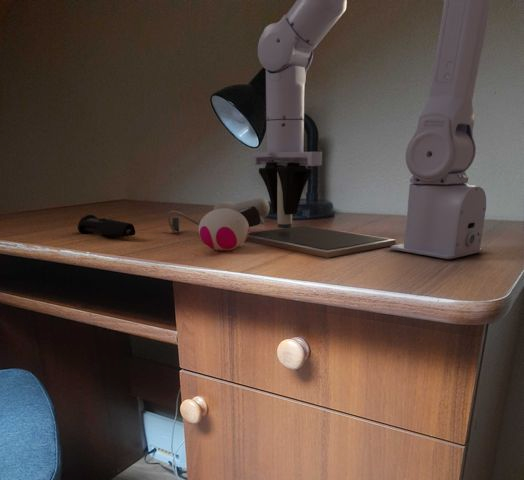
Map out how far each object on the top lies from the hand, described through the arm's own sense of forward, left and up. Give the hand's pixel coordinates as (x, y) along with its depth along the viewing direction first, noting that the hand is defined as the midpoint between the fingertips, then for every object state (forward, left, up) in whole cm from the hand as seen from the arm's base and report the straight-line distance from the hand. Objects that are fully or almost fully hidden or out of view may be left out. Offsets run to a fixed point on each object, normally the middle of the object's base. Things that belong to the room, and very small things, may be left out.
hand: (284, 213), depth 80 cm
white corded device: (+10, +7, -4) cm, 13 cm away
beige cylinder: (0, 0, -2) cm, 2 cm away
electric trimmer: (+21, +22, -4) cm, 31 cm away
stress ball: (-4, +15, -4) cm, 16 cm away
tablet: (-7, 0, -4) cm, 8 cm away
